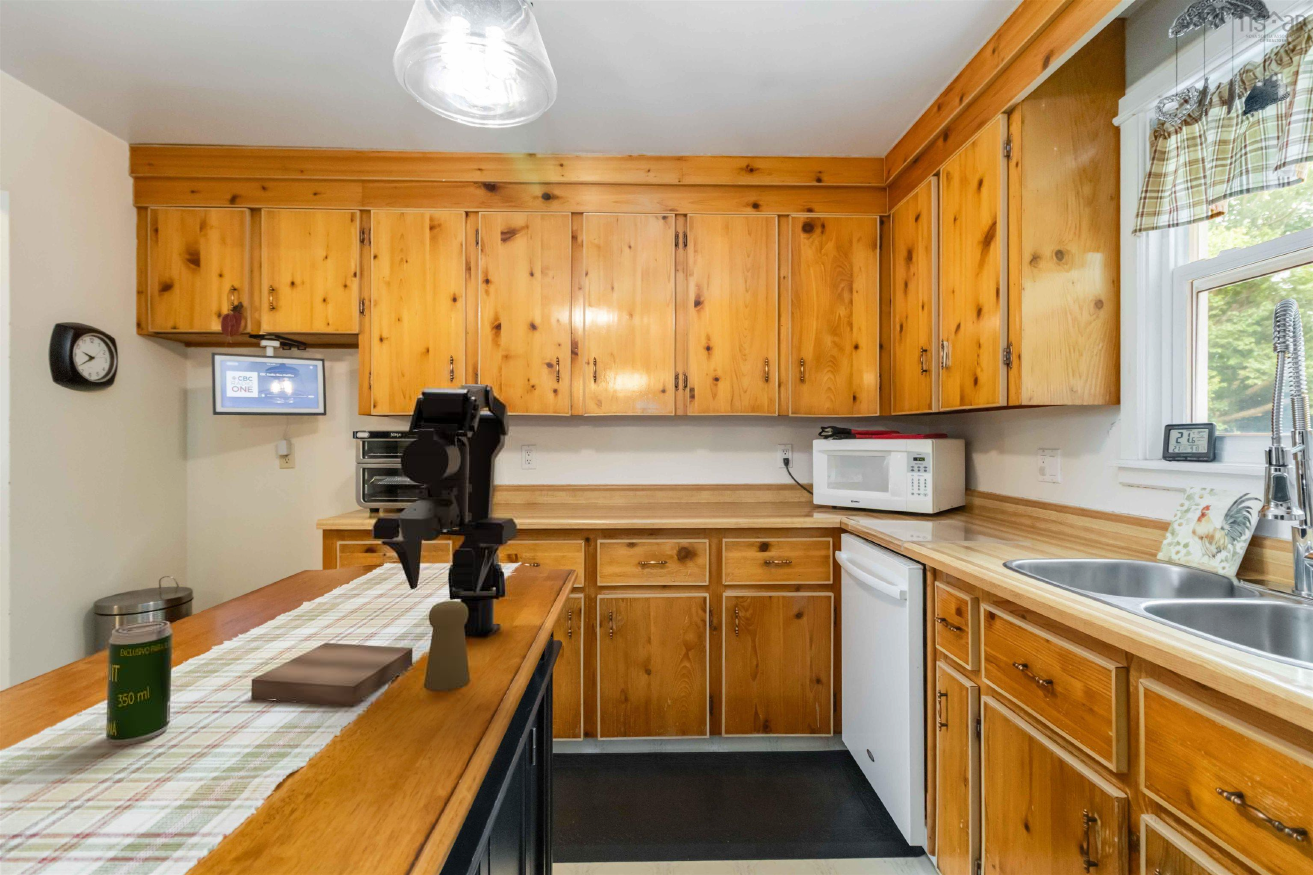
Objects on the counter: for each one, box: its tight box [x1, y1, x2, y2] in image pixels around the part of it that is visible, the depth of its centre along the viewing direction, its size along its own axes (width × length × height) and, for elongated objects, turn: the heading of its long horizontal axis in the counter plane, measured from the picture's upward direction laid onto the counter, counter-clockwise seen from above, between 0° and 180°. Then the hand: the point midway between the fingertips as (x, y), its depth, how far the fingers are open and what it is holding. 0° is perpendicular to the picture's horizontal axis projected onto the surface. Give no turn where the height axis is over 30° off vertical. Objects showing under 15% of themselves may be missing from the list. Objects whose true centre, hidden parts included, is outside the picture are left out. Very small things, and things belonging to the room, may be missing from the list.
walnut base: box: [250, 642, 414, 707], centre depth 81 cm, size 14×14×2 cm
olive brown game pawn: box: [423, 600, 471, 692], centre depth 81 cm, size 6×6×11 cm
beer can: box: [105, 620, 173, 746], centre depth 65 cm, size 5×5×12 cm
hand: (444, 590), depth 81 cm, fingers open, 9 cm apart
